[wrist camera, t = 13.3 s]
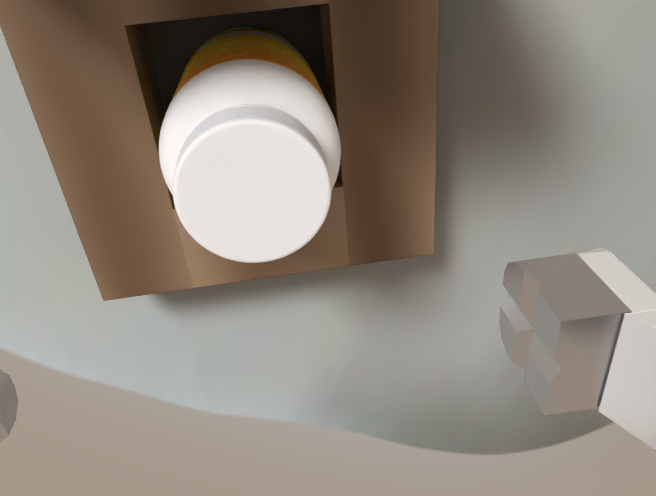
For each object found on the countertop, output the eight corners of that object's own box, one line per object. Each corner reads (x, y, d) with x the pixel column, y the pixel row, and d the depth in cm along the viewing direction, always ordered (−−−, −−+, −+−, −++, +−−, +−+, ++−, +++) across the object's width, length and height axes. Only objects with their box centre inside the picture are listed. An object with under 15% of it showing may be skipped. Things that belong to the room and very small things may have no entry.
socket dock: (415, -212, 17) (653, -408, 7) (415, 221, 26) (525, 414, 16) (-31, -175, 17) (-483, -339, 6) (118, 262, 25) (28, 496, 15)
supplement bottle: (164, 36, 20) (109, 108, 12) (306, 14, 21) (348, 70, 12) (200, 168, 23) (174, 302, 15) (324, 148, 23) (367, 268, 15)
